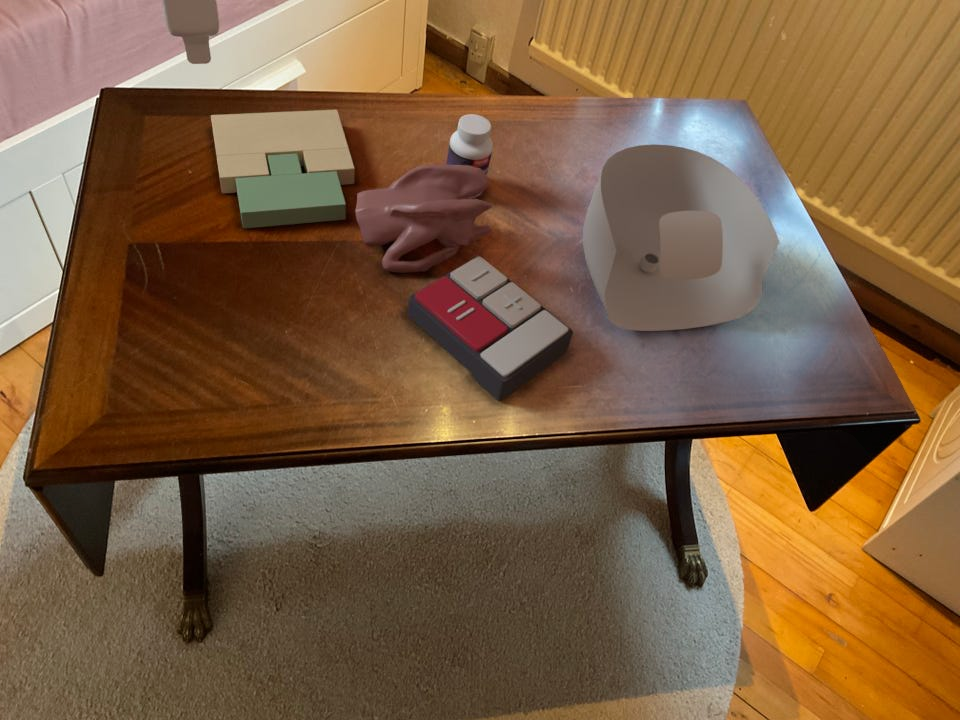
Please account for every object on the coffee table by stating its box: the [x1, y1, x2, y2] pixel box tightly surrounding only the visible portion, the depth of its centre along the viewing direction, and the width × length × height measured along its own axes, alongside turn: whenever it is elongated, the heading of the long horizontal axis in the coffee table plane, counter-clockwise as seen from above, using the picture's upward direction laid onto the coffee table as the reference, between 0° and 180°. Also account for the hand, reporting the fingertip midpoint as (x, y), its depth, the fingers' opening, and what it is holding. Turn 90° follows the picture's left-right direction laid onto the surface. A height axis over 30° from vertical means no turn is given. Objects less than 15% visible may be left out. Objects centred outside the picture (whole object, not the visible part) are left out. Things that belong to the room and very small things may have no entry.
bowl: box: [582, 143, 780, 332], centre depth 88 cm, size 20×19×12 cm
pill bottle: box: [445, 113, 494, 199], centre depth 93 cm, size 5×5×10 cm
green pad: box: [235, 154, 347, 229], centre depth 90 cm, size 12×10×2 cm
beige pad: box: [210, 109, 356, 194], centre depth 94 cm, size 16×12×2 cm
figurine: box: [354, 163, 494, 274], centre depth 87 cm, size 12×10×15 cm
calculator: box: [407, 255, 574, 402], centre depth 81 cm, size 11×4×15 cm
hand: (194, 26), depth 62 cm, fingers open, 8 cm apart
